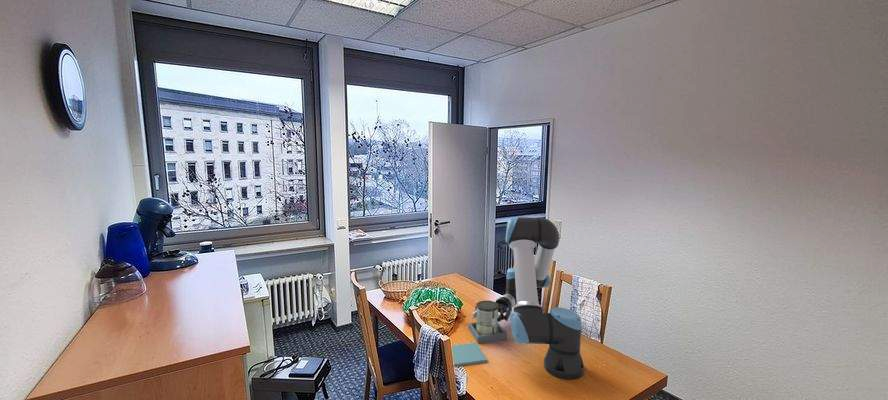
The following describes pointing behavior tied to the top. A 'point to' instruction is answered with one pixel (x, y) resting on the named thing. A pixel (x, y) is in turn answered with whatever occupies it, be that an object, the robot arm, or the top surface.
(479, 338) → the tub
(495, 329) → the coffee can
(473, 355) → the board
